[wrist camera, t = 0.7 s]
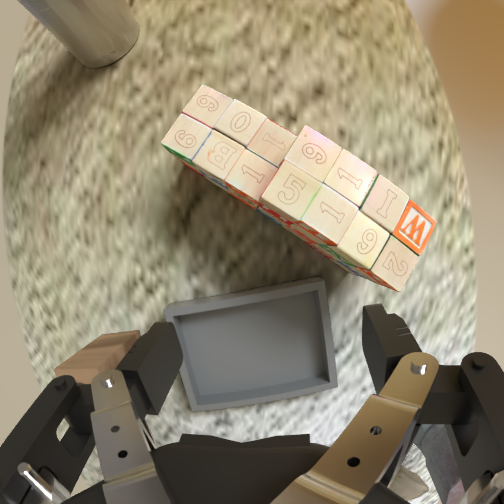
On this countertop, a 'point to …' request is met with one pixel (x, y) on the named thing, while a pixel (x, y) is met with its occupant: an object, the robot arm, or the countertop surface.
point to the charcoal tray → (255, 345)
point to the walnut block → (98, 356)
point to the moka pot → (440, 462)
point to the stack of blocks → (304, 186)
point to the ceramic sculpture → (408, 484)
